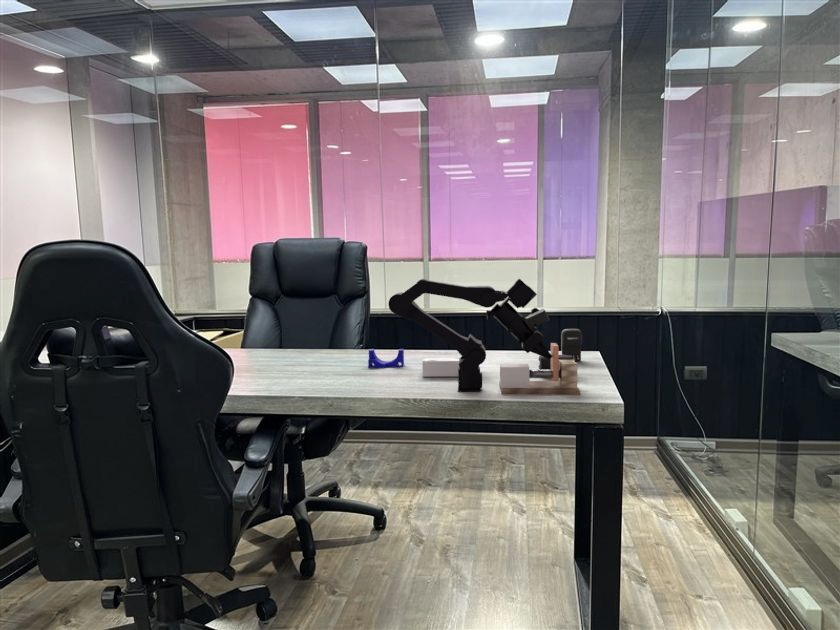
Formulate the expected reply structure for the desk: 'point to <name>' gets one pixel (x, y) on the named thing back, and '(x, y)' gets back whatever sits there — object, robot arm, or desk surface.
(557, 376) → the brushed copper slab
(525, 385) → the white rectangular block
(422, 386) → the desk surface
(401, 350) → the cable clip
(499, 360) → the desk surface
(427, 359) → the white box
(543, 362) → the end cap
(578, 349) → the battery charger
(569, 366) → the socket block
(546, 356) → the robot arm
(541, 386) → the base board
